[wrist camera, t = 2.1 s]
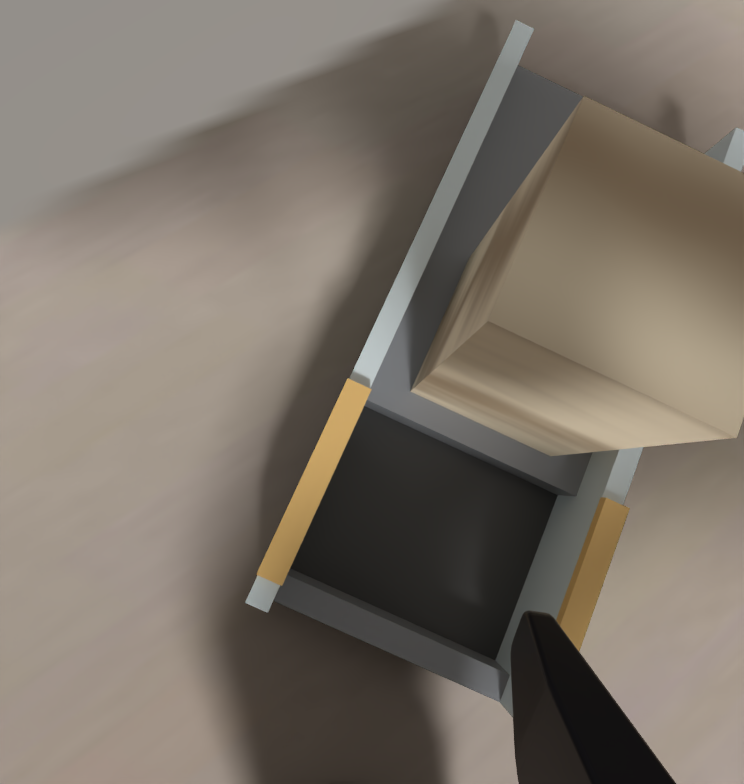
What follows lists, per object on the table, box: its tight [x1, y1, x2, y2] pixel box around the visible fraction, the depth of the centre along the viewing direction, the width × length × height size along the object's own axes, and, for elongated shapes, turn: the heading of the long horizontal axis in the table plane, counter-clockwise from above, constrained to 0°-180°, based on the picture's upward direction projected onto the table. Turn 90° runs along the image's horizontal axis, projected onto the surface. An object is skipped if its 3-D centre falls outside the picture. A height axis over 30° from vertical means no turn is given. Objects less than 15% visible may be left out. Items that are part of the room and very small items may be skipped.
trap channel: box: [245, 20, 744, 717], centre depth 23 cm, size 24×11×4 cm, turn 156°
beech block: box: [410, 96, 744, 456], centre depth 18 cm, size 6×6×10 cm
